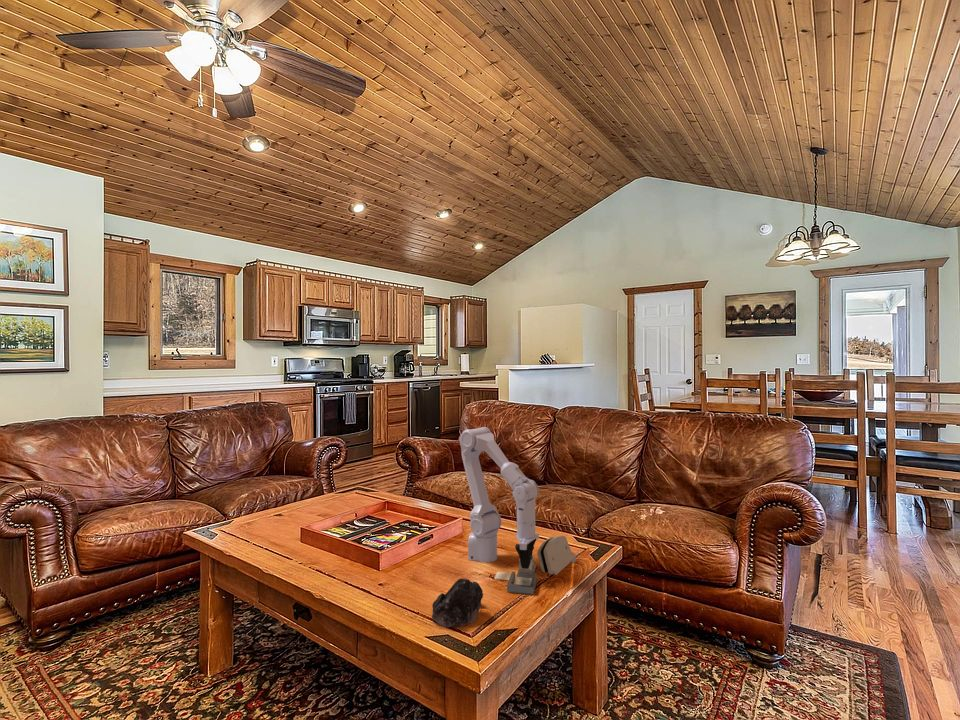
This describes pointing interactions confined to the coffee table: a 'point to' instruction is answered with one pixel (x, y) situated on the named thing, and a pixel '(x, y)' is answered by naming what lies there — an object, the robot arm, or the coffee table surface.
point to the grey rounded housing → (555, 555)
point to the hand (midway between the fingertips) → (526, 564)
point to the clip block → (531, 566)
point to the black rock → (458, 604)
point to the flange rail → (522, 582)
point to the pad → (503, 575)
